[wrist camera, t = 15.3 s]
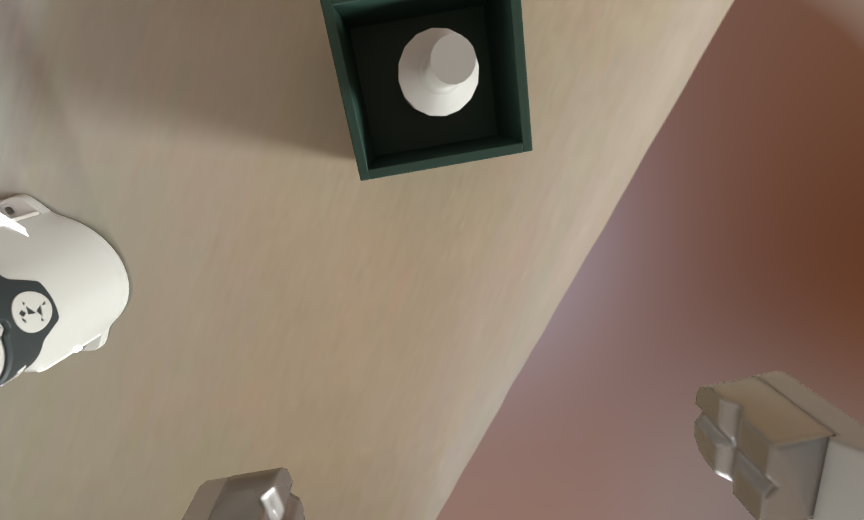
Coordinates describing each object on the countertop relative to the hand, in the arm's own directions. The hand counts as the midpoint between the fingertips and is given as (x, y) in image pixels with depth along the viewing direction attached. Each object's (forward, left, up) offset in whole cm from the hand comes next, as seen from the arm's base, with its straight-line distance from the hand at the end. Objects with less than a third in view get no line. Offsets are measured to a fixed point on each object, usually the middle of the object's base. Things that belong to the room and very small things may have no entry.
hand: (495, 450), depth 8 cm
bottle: (+2, +8, -39) cm, 40 cm away
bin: (+2, +8, -40) cm, 41 cm away
